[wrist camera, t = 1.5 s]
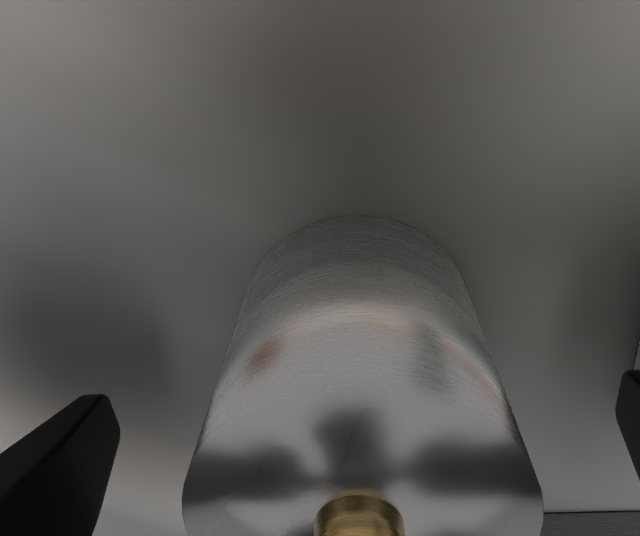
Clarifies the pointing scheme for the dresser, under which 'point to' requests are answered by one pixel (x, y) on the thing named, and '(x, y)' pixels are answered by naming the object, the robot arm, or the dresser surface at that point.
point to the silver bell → (359, 400)
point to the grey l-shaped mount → (637, 359)
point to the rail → (591, 524)
